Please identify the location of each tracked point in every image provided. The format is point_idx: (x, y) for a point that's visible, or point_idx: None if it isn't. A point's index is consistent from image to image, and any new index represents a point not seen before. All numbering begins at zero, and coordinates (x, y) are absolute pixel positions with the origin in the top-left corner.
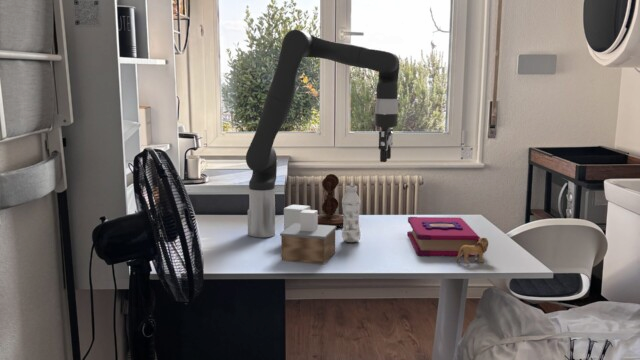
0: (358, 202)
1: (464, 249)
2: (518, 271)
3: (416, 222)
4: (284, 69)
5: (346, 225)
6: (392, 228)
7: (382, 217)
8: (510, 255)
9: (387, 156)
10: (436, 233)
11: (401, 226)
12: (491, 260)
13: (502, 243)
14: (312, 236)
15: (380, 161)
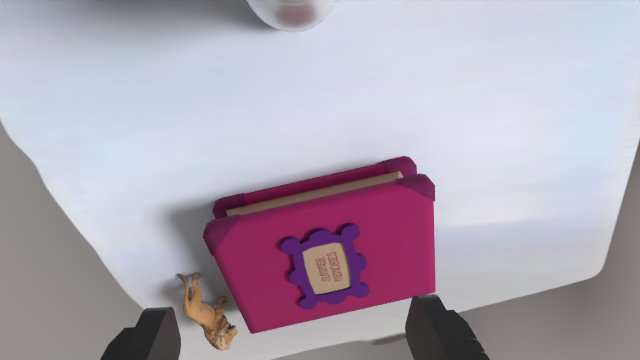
0: (268, 24)
1: (183, 306)
2: None
3: (362, 207)
4: None
5: None
6: (476, 108)
7: (626, 56)
8: (275, 338)
9: (417, 334)
10: (244, 264)
11: (499, 130)
12: (229, 318)
13: (356, 325)
14: None
15: (145, 309)
